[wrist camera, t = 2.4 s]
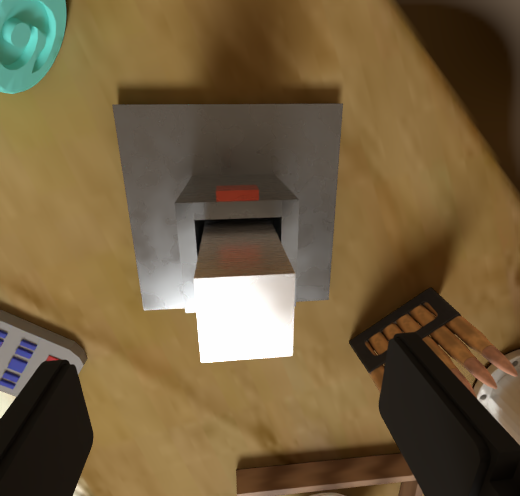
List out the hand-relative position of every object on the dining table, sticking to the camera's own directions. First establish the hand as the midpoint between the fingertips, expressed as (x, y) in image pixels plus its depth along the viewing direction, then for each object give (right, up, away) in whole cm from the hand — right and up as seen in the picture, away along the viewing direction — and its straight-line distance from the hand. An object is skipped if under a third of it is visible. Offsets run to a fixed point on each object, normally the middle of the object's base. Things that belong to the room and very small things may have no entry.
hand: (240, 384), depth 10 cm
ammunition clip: (+15, -4, +27) cm, 31 cm away
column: (-2, +7, +19) cm, 20 cm away
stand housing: (-2, +7, +21) cm, 22 cm away
